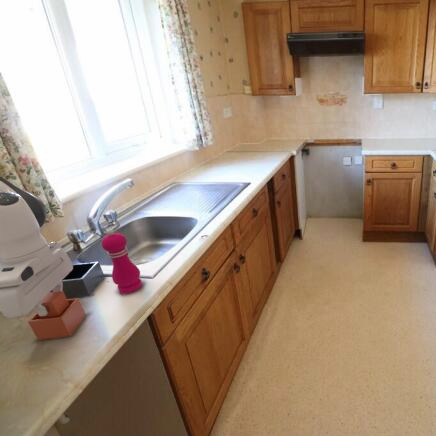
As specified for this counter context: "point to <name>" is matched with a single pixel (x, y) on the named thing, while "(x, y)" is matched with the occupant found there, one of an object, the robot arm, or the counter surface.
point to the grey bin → (82, 279)
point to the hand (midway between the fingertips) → (52, 306)
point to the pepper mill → (121, 263)
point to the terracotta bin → (58, 322)
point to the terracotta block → (55, 303)
